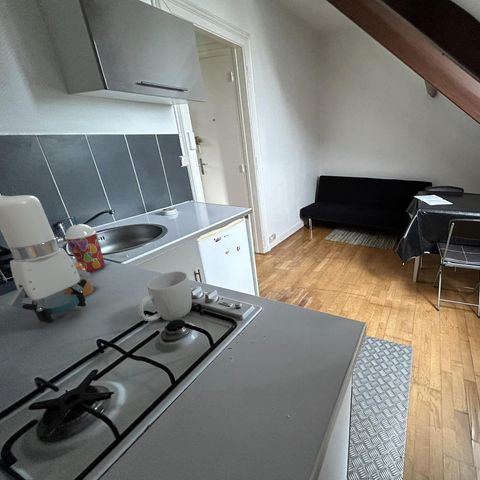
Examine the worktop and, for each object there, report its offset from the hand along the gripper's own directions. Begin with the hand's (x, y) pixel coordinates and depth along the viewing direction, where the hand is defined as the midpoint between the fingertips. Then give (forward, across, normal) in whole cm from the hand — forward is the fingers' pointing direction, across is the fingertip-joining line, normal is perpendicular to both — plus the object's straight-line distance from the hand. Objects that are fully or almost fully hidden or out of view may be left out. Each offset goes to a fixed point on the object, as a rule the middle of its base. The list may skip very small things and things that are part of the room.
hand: (65, 312), depth 67 cm
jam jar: (+2, -9, -10) cm, 14 cm away
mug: (+2, -8, +26) cm, 27 cm away
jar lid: (-3, 0, 0) cm, 3 cm away
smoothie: (+2, -22, -25) cm, 33 cm away
